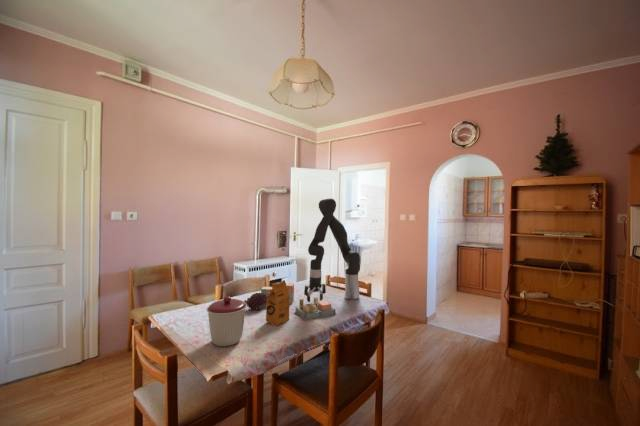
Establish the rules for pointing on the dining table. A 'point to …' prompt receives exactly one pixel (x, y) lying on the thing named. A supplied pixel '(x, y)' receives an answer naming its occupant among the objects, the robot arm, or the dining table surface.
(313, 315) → the shelf rack
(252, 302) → the pine cone
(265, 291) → the stack of blocks
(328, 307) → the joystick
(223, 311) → the canister
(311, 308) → the birch block
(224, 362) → the dining table surface
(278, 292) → the coffee package
